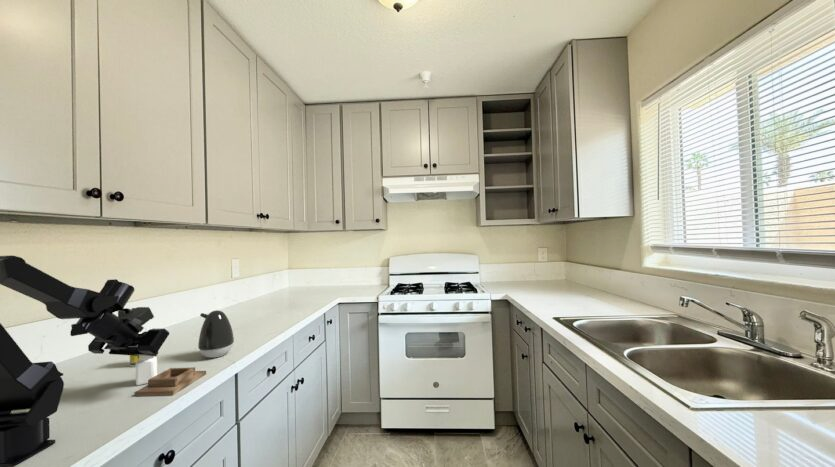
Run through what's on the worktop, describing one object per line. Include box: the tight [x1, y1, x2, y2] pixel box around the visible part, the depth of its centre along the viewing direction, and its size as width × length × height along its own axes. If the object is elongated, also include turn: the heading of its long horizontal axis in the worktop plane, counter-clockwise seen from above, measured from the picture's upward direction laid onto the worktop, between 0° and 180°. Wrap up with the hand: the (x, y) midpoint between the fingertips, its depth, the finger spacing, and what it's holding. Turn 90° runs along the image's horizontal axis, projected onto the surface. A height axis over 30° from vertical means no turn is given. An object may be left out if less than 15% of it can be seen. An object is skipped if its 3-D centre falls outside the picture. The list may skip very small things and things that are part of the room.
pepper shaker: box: [135, 355, 158, 386], centre depth 87 cm, size 4×4×10 cm
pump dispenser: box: [198, 309, 235, 359], centre depth 106 cm, size 10×10×15 cm
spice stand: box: [134, 367, 207, 397], centre depth 85 cm, size 12×10×3 cm
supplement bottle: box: [129, 355, 139, 368], centre depth 100 cm, size 5×5×8 cm
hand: (151, 354), depth 88 cm, fingers closed on pepper shaker, 3 cm apart
